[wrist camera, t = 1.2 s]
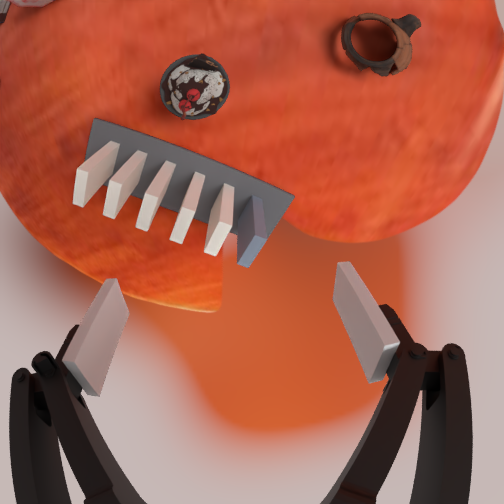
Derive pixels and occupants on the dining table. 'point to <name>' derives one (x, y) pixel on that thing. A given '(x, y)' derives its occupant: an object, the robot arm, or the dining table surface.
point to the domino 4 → (187, 208)
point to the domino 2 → (123, 184)
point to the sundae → (194, 87)
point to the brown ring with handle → (402, 32)
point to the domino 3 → (154, 196)
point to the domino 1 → (94, 173)
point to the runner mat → (188, 174)
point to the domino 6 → (251, 232)
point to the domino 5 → (220, 220)
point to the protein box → (4, 9)
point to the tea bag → (30, 3)
